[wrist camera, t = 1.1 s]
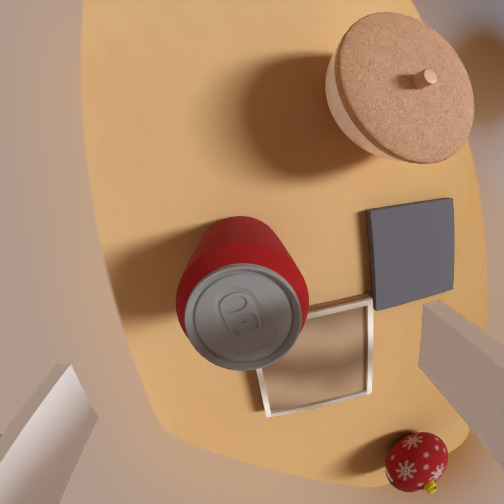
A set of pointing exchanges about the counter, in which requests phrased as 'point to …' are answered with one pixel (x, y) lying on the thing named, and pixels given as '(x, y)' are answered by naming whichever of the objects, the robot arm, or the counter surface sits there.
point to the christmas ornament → (416, 462)
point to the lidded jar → (399, 90)
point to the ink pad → (410, 251)
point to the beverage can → (242, 296)
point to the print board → (323, 359)
